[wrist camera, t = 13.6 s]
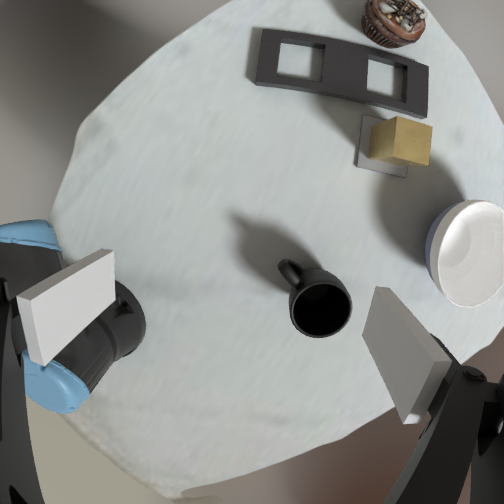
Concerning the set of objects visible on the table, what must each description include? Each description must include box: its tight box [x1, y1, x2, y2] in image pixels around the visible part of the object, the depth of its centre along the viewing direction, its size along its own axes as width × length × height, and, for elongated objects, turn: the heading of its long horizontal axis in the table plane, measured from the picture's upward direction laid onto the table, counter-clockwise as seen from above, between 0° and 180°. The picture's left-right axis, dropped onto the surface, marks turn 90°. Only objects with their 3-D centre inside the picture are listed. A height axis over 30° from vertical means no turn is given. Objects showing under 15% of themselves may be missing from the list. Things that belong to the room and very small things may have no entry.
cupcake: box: [362, 0, 427, 48], centre depth 31 cm, size 10×10×10 cm
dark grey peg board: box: [256, 29, 429, 119], centre depth 38 cm, size 26×9×2 cm, turn 83°
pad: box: [357, 115, 407, 178], centre depth 41 cm, size 8×8×1 cm
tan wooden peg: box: [368, 116, 432, 166], centre depth 36 cm, size 5×5×10 cm
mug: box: [278, 258, 352, 338], centre depth 43 cm, size 8×12×10 cm
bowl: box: [425, 200, 504, 308], centre depth 40 cm, size 16×16×10 cm
